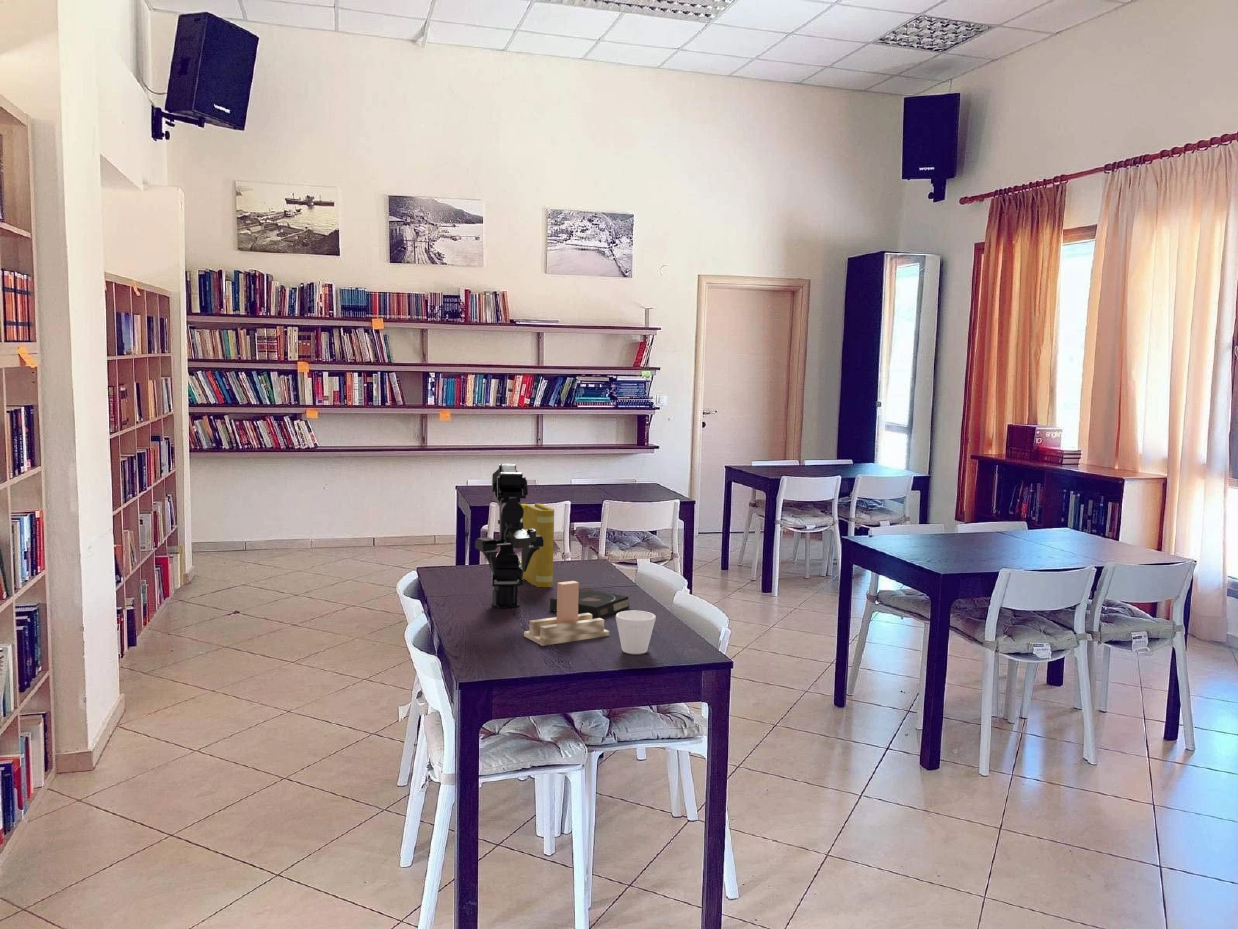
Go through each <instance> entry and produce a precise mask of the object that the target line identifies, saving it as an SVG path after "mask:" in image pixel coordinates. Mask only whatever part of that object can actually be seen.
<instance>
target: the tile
mask: <svg viewBox="0 0 1238 929" xmlns="http://www.w3.org/2000/svg"><path fill="white" fill-rule="evenodd" d="M579 587H580V583H579V581H575V580H571V581H570V580H569V581H561V582H557V589H556V590H557V592H556V596H557V612H556V617H557V623H556V624H560V623H567V622H574V621H578V596H579Z"/></svg>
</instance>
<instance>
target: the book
mask: <svg viewBox="0 0 1238 929" xmlns="http://www.w3.org/2000/svg"><path fill="white" fill-rule="evenodd" d="M521 505H522V507H523V510H524V514H523V517H522V519H521V522H523V528H524V530H528V529H535V530H536V535H539V536H542V537H543V539H544V546H543V547H539V548H540V549H539V550H536V551H535V552H534V553H533V555H532V557H531V559H530V562H529V564H528V567H527V570H526V572H523V579H525V580H527V581H528V582H530V583H531V584H530V583H529V584H530V585H532V584H533V585H535V586H538V587H549V586H552V585H553V581H554V579H553V577H554V575H553V574H554V543H555V542H554V541H555V540H554V539H555V535H554V534H555V508H552V507H548V506H546V505H544V504H543V503H534V506H533V505H531V504H528V503H521ZM520 549H521V553H520V554H521V558H520V559H521V560H520V562H521V563H519V566H521V568H522V548H520ZM522 570H523V569H522ZM525 580H524V581H525ZM527 581H526V582H527ZM528 582H527V583H528ZM533 585H532V586H533ZM535 586H534V587H535ZM552 587H553V586H552Z"/></svg>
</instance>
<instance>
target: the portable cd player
mask: <svg viewBox="0 0 1238 929" xmlns="http://www.w3.org/2000/svg"><path fill="white" fill-rule="evenodd" d="M630 605H631V604H630V599H629V596H628V595H627V596H626V595H622V594H616V593H611V592H610V593H609V592H604V591H600V590H593V589H588V588H584V587H583V588H580V589H579V596H578V614H583V613H590V614H592V618H593V619H596V618H602V619H603V618H606V617H609V616H611V614H612V615H615V614H617V613H619V611H620V612H622V610H623V611H625V610H624V609H626V610H628V609H629V608H630ZM550 609H551V610H555V611H554V612H556V611H557V595H556V596H553V597H551V598H549V610H550ZM551 610H550V611H551ZM614 613H615V614H614ZM605 616H606V617H605Z"/></svg>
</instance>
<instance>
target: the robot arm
mask: <svg viewBox="0 0 1238 929" xmlns="http://www.w3.org/2000/svg"><path fill="white" fill-rule="evenodd" d="M491 479H492V480H491V492H492V493H493V498H494V499H493V500H494V501H495V502H496V504H497V506H498V507H499V510H498V511H499V513H498V514H499V518H498V520H497V524H498V525H499V529H498V530H499V531H498V532H499V534H497V539H494V538H492V537H477V538H476V540H475V542H474V548H475V549H477V550H479V551H480V552H482V554H483V555H484V557H485V558H486V561H487V563H488V565H489V568H490V570H491V587H493V590H492V597H491V598H492V600H491V605H492V606H495V607H496V606H497V608H498V609H508V608H515V607H516V606H517V607H521V604H520V603H518V594H519V592H518V590H519V589H518V588H519V587H521V586H522V585H523V584H524V582H523V581H524V580H523V572H526V570H527V567H528V564H529V562H530V559H531V557H532V555H533V553H534V552H535V551H536V550H539V549H540V548H539V547H543V546H544V539H543V537H542V536H539V535H536V530H535V529H528V530H524V528H523V522H522V517H523V514H524V510H523V507H522V505H521V504H522V501H521V499H527V496H529V495H528V494H529V491H528V480H527V478H526V476H525V475H524V474H523V472H520V471H518V470H517V465H516V464H514V463H499V464H498V469H496V471H495V472H493V473H492V475H491ZM498 547H499V552H498V551H497V550H496V549H497V548H498ZM521 548H522V568H521V566H520V558H519V556H518V554H516V552H515V551H514V549H517V550H518V549H521ZM479 551H478V552H479ZM522 569H523V570H522ZM517 607H516V608H517Z"/></svg>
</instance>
